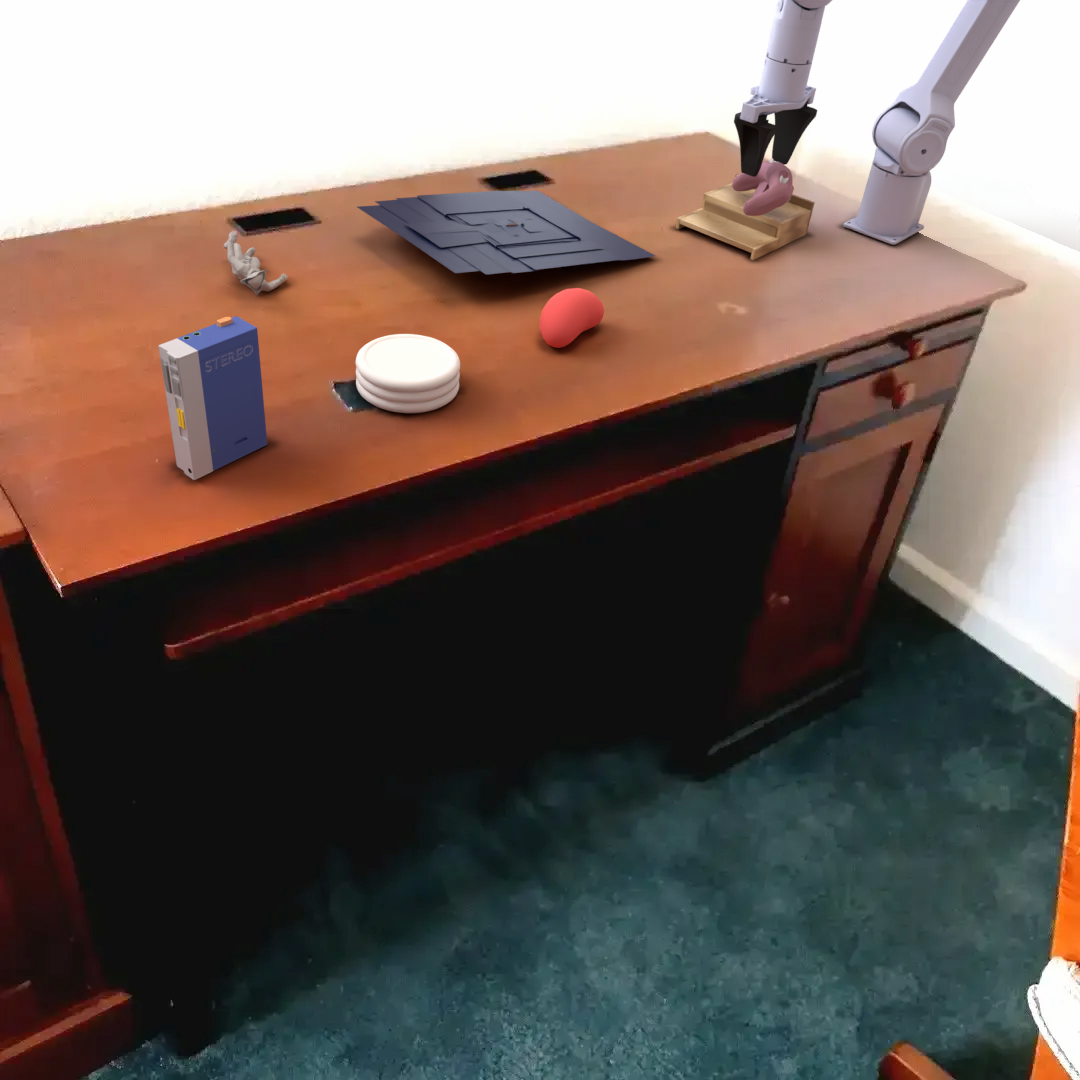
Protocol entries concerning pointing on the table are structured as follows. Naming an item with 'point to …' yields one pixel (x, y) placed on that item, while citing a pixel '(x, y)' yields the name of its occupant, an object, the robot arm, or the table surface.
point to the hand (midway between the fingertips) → (764, 168)
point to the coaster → (407, 373)
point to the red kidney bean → (569, 316)
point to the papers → (500, 231)
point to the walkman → (214, 395)
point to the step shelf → (748, 221)
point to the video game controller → (766, 188)
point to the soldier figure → (249, 267)
